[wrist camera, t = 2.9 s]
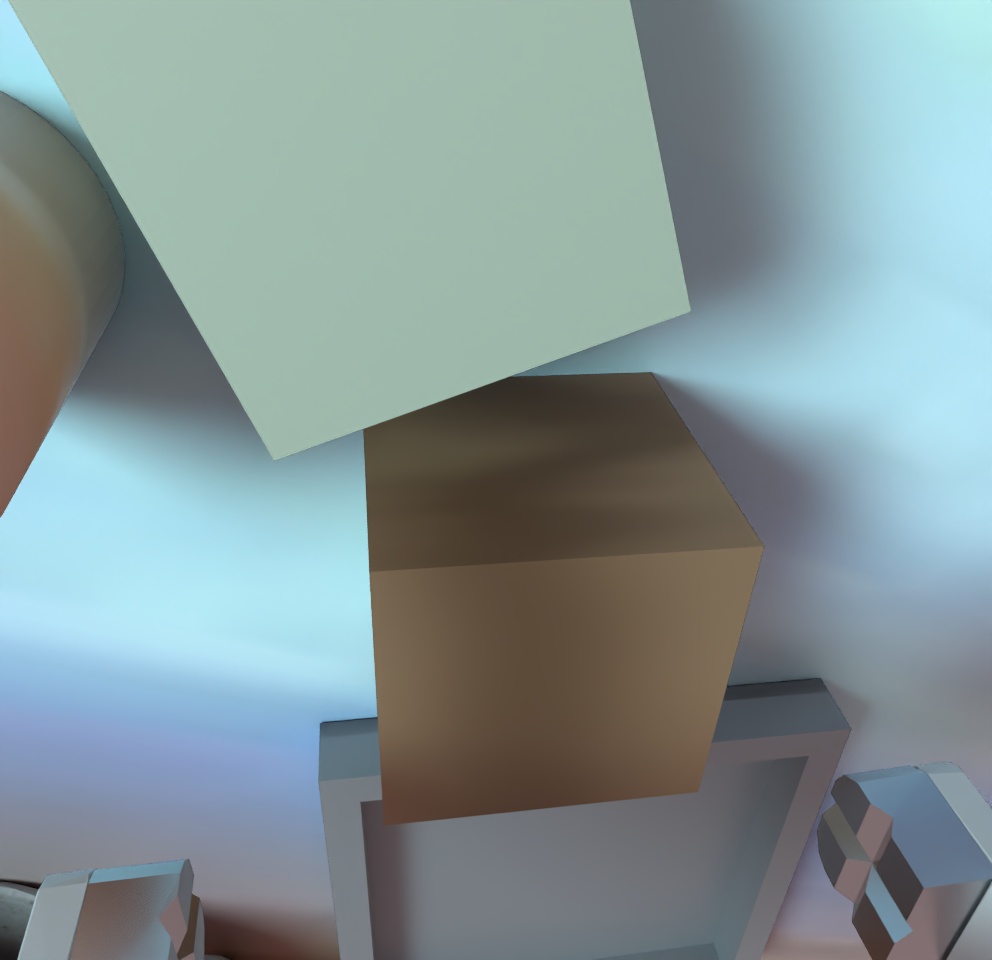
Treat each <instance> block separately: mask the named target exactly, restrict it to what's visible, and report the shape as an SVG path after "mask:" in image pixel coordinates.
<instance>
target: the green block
mask: <svg viewBox="0 0 992 960" xmlns="http://www.w3.org/2000/svg"><path fill="white" fill-rule="evenodd" d="M8 1H9V3H10V5H11V6H12V8H13V10H14V12H15V13H16V15H17V17H18V18H19V20H20V22H21V24H22V25H23V27H24V29H25V31H26V32H27V34H28V36H29V38H30V39H31V41H32V43H33V44H34V46H35V48H36V50H37V51H38V53H39V55H40V57H41V58H42V60H43V62H44V63H45V65H46V67H47V69H48V70H49V72H50V74H51V76H52V77H53V79H54V81H55V82H56V84H57V86H58V88H59V89H60V91H61V93H62V95H63V96H64V98H65V100H66V102H67V103H68V105H69V107H70V108H71V110H72V112H73V114H74V115H75V117H76V119H77V121H78V122H79V124H80V126H81V127H82V129H83V131H84V133H85V134H86V136H87V138H88V140H89V141H90V143H91V145H92V147H93V148H94V150H95V152H96V153H97V155H98V157H99V159H100V160H101V162H102V164H103V166H104V167H105V169H106V171H107V172H108V174H109V176H110V178H111V179H112V181H113V183H114V185H115V186H116V188H117V190H118V192H119V193H120V195H121V197H122V198H123V200H124V202H125V204H126V205H127V207H128V209H129V211H130V212H131V214H132V216H133V217H134V219H135V221H136V223H137V224H138V226H139V228H140V230H141V231H142V233H143V235H144V236H145V238H146V240H147V242H148V243H149V245H150V247H151V249H152V250H153V252H154V254H155V256H156V257H157V259H158V261H159V262H160V264H161V266H162V268H163V269H164V271H165V273H166V275H167V276H168V278H169V280H170V281H171V283H172V285H173V287H174V288H175V290H176V292H177V294H178V295H179V297H180V299H181V301H182V302H183V304H184V306H185V307H186V309H187V311H188V313H189V314H190V316H191V318H192V320H193V321H194V323H195V325H196V326H197V328H198V330H199V332H200V333H201V335H202V337H203V339H204V340H205V342H206V344H207V346H208V347H209V349H210V351H211V352H212V354H213V356H214V358H215V359H216V361H217V363H218V365H219V366H220V368H221V370H222V371H223V373H224V375H225V377H226V378H227V380H228V382H229V384H230V385H231V387H232V389H233V391H234V392H235V394H236V396H237V397H238V399H239V401H240V403H241V404H242V406H243V408H244V410H245V411H246V413H247V415H248V416H249V418H250V420H251V422H252V423H253V425H254V427H255V429H256V430H257V432H258V434H259V435H260V437H261V439H262V441H263V442H264V444H265V446H266V448H267V449H268V451H269V453H270V455H271V456H272V458H273V460H274V461H275V460H278V459H281V458H283V457H286V456H289V455H292V454H295V453H297V452H300V451H303V450H306V449H309V448H311V447H314V446H317V445H320V444H322V443H325V442H328V441H331V440H334V439H336V438H339V437H342V436H345V435H348V434H350V433H353V432H356V431H359V430H362V429H364V428H367V427H370V426H373V425H376V424H378V423H381V422H384V421H387V420H389V419H392V418H395V417H398V416H401V415H403V414H406V413H409V412H412V411H415V410H417V409H420V408H423V407H426V406H429V405H431V404H434V403H437V402H440V401H443V400H445V399H448V398H451V397H454V396H457V395H459V394H462V393H465V392H468V391H471V390H473V389H476V388H479V387H482V386H484V385H487V384H490V383H493V382H496V381H498V380H501V379H504V378H507V377H510V376H512V375H515V374H518V373H521V372H524V371H526V370H529V369H532V368H535V367H538V366H540V365H543V364H546V363H549V362H551V361H554V360H557V359H560V358H563V357H565V356H568V355H571V354H574V353H577V352H579V351H582V350H585V349H588V348H591V347H593V346H596V345H599V344H602V343H605V342H607V341H610V340H613V339H616V338H619V337H621V336H624V335H627V334H630V333H632V332H635V331H638V330H641V329H644V328H646V327H649V326H652V325H655V324H658V323H660V322H663V321H666V320H669V319H672V318H674V317H677V316H680V315H683V314H686V313H688V312H691V309H690V304H689V299H688V294H687V289H686V284H685V279H684V273H683V268H682V263H681V258H680V253H679V248H678V243H677V238H676V233H675V228H674V222H673V217H672V212H671V207H670V202H669V197H668V192H667V187H666V182H665V177H664V172H663V166H662V161H661V156H660V151H659V146H658V141H657V136H656V131H655V126H654V121H653V115H652V110H651V105H650V100H649V95H648V90H647V85H646V80H645V75H644V70H643V64H642V59H641V54H640V49H639V44H638V39H637V34H636V29H635V24H634V19H633V14H632V8H631V3H630V0H8Z"/></svg>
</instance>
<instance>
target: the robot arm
mask: <svg viewBox="0 0 992 960" xmlns="http://www.w3.org/2000/svg"><path fill="white" fill-rule="evenodd" d="M831 794H832V796H833V798H834V799H835V801H836V804H835V805H833V806H832V807H831V808H830V809H829V810H828V811H826V812H825V813H824V814H823V815H822V818H821V821H820V824H819V827H818V830H817V837H818V848H819V854H820V857H821V860H822V863H823V866H824V869H825V871H826V873H827V875H828V877H829V879H830V881H831V883H832V885H833V887H834V889H836V890H837V891H838V892H840V893H841V894H842V895H844V896H845V897H846V898H848V899H849V900H851V901H852V902H853V903H854V908H853V916H852V923H853V925H854V926H855V928H856V930H857V932H858V934H859V936H860V938H861V939H862V941H863V943H864V945H865V947H866V949H867V951H868V952H869V954H870V956H871V958H872V960H992V808H991V807H990V806H989V804H988V803H987V802H986V800H985V799H984V798H983V796H982V795H981V794H980V793H979V791H978V790H977V789H976V787H975V786H974V785H973V783H972V782H971V781H970V779H969V778H968V777H967V776H966V774H965V773H964V772H963V771H962V770H961V769H960V768H959V767H958V766H956V765H955V764H953V763H952V762H938V763H931V764H924V765H918V766H902V767H896V768H889V769H882V770H875V771H868V772H861V773H854V774H848V775H843V776H842V777H840V778H839V779H837V780H836V781H835V784H834V786H833V789H832V791H831ZM193 880H194V874H193V871H192V867H191V864H190V861H189V859H183V860H174V861H166V862H157V863H149V864H140V865H131V866H123V867H114V868H106V869H92V870H84V871H76V872H69V873H61V874H53V875H47V876H46V878H45V879H44V881H43V883H42V885H41V886H40V888H39V890H38V891H37V894H36V898H35V901H34V904H33V908H32V911H31V915H30V918H29V921H28V925H27V928H26V932H25V935H24V938H23V942H22V945H21V949H20V952H19V955H18V959H17V960H204V935H205V928H204V918H203V910H202V905H201V901H200V898H199V897H197V896H195V895H193V894H192V888H193Z"/></svg>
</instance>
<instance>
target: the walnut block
mask: <svg viewBox="0 0 992 960" xmlns="http://www.w3.org/2000/svg"><path fill="white" fill-rule="evenodd" d="M364 452H365V477H366V501H367V525H368V550H369V574H370V591H371V609H372V627H373V644H374V662H375V680H376V698H377V715H378V733H379V751H380V769H381V786H382V804H383V822H384V826H387V825H396V824H406V823H415V822H424V821H434V820H443V819H452V818H462V817H471V816H480V815H490V814H499V813H508V812H518V811H527V810H536V809H546V808H555V807H564V806H574V805H583V804H592V803H602V802H611V801H620V800H630V799H639V798H648V797H658V796H667V795H676V794H686V793H695V792H698V791H699V787H700V784H701V780H702V776H703V772H704V769H705V765H706V761H707V758H708V754H709V750H710V746H711V743H712V739H713V735H714V731H715V728H716V724H717V720H718V717H719V713H720V709H721V705H722V702H723V698H724V694H725V691H726V687H727V683H728V679H729V676H730V672H731V668H732V665H733V661H734V657H735V653H736V650H737V646H738V642H739V639H740V635H741V631H742V627H743V624H744V620H745V616H746V613H747V609H748V605H749V601H750V598H751V594H752V590H753V587H754V583H755V579H756V575H757V572H758V568H759V564H760V560H761V557H762V553H763V549H764V545H763V543H762V542H761V540H760V539H759V537H758V536H757V534H756V533H755V531H754V530H753V528H752V527H751V525H750V524H749V522H748V520H747V519H746V517H745V516H744V514H743V513H742V511H741V510H740V508H739V507H738V505H737V504H736V502H735V500H734V499H733V497H732V496H731V494H730V493H729V491H728V490H727V488H726V487H725V485H724V484H723V482H722V481H721V479H720V477H719V476H718V474H717V473H716V471H715V470H714V468H713V467H712V465H711V464H710V462H709V461H708V459H707V457H706V456H705V454H704V453H703V451H702V450H701V448H700V447H699V445H698V444H697V442H696V441H695V439H694V438H693V436H692V434H691V433H690V431H689V430H688V428H687V427H686V425H685V424H684V422H683V421H682V419H681V418H680V416H679V414H678V413H677V411H676V410H675V408H674V407H673V405H672V404H671V402H670V401H669V399H668V398H667V396H666V395H665V393H664V391H663V390H662V388H661V387H660V385H659V384H658V382H657V381H656V379H655V378H654V376H653V375H652V373H651V372H641V373H611V374H580V375H550V376H519V377H507V378H504V379H501V380H498V381H496V382H493V383H490V384H487V385H484V386H482V387H479V388H476V389H473V390H471V391H468V392H465V393H462V394H459V395H457V396H454V397H451V398H448V399H445V400H443V401H440V402H437V403H434V404H431V405H429V406H426V407H423V408H420V409H417V410H415V411H412V412H409V413H406V414H403V415H401V416H398V417H395V418H392V419H389V420H387V421H384V422H381V423H378V424H376V425H373V426H370V427H367V428H364Z"/></svg>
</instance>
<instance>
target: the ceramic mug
mask: <svg viewBox="0 0 992 960" xmlns="http://www.w3.org/2000/svg"><path fill="white" fill-rule="evenodd" d="M38 890H39V889H35V888H31V887H27V886H23V885H20V884H15V883H8V882H0V960H17V959H18V955H19V952H20V949H21V945H22V942H23V938H24V935H25V932H26V928H27V925H28V921H29V918H30V915H31V911H32V908H33V904H34V901H35V898H36V894H37V891H38ZM204 960H230V959H228V958H225V957H223V956H219V955H206V954H204Z"/></svg>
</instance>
